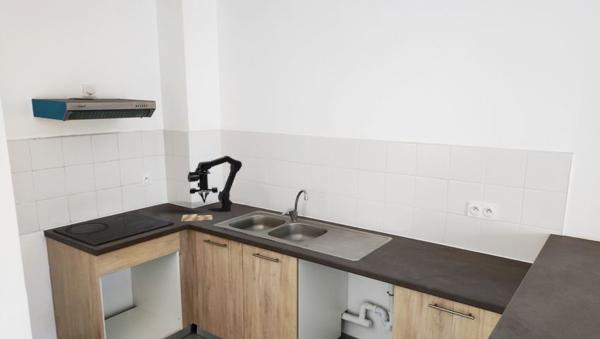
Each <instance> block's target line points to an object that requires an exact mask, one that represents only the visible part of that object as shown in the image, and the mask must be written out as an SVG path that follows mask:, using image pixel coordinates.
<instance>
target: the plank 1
mask: <svg viewBox="0 0 600 339" xmlns="http://www.w3.org/2000/svg"><path fill="white" fill-rule="evenodd" d="M190 217H198V214H197V213H194V214H182V217H181V219H182V218H190Z"/></svg>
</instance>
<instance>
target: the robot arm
mask: <svg viewBox="0 0 600 339" xmlns="http://www.w3.org/2000/svg"><path fill="white" fill-rule="evenodd" d="M225 163H228V164H229V165H230V166H229V170H230V171H229V174H228V176H227V180H226V182H225V184H224V187H223V190H222V191H221V190H220V191H219V188H218V187H213V186H212V187H211V188H209V182H208V181H209V179H208V178H209V176H208V175H211V172H210V170H211V169H212V168H213V167H217V166H219V165H222V164H225ZM242 167H243V163H242V161H241V160H238V159H234V158H232V157H231V156H229V155H224V156H221V157H219V158H215V159H212V160H207V161H199V163H198V165H197V167H196V168H195V169H194V171H189V172H188V174H187V181H188V183H194V182H197V189H196V187H190V189H189V194H190V195H193V194H196V193H197V194H198V195H200V197H201V199H202V201H203V204H205V203H206V201H207V198H208V195H210V193H211V192H212V193H213V194H216V193H218V195H217V200H218V202H220V204H221V205H220V211H221V212H222V213H229V212H232V205H233V201H231V199H230V198H231V197H230V196H231V193H230V192H231V189H232V187H233V183H234V181H235V179H236V176H237V174H238V172H240V170H241V169H242ZM198 188H199V189H198Z"/></svg>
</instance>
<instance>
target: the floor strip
mask: <svg viewBox="0 0 600 339" xmlns="http://www.w3.org/2000/svg"><path fill="white" fill-rule="evenodd" d="M209 220H210V221H212V220H213V215H212V216H207V217H198V216H197V217H189V218H182V217H181V221H180V222H193V221H194V222H195V221H209Z"/></svg>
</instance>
